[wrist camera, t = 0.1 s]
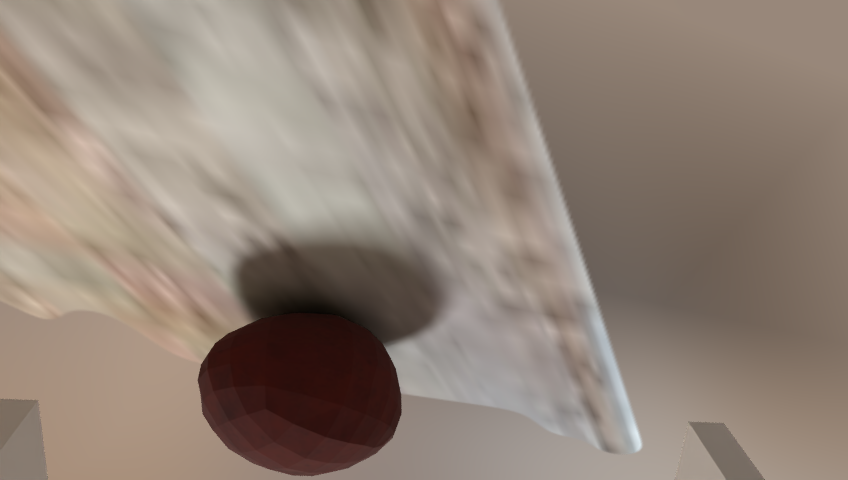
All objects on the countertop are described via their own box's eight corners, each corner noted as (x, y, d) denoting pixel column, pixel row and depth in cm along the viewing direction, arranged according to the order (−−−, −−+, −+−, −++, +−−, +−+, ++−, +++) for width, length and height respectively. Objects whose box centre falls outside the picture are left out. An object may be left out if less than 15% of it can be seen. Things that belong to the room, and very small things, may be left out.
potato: (391, 374, 50) (387, 504, 46) (218, 361, 49) (196, 493, 44) (421, 291, 41) (419, 443, 36) (208, 270, 39) (178, 427, 34)
